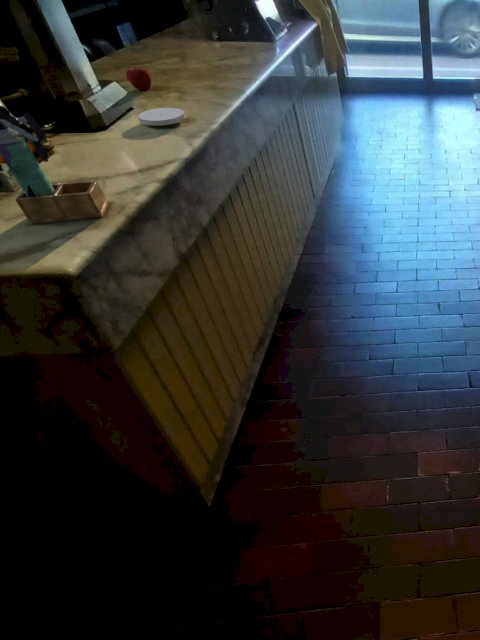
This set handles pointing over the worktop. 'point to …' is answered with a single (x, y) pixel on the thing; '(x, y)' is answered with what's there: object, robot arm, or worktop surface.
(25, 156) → the spray can
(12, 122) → the robot arm
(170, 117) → the plastic lid
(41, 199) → the box
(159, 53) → the worktop surface
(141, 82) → the apple
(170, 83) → the worktop surface
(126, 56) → the worktop surface
